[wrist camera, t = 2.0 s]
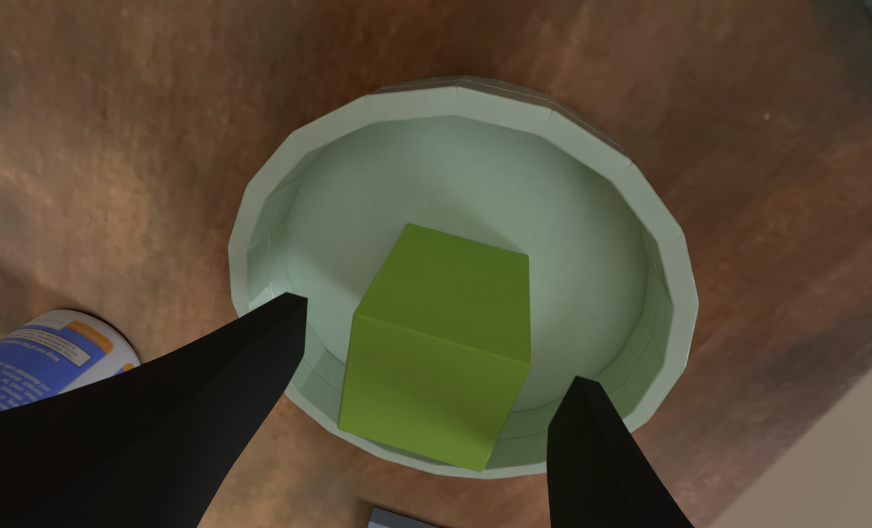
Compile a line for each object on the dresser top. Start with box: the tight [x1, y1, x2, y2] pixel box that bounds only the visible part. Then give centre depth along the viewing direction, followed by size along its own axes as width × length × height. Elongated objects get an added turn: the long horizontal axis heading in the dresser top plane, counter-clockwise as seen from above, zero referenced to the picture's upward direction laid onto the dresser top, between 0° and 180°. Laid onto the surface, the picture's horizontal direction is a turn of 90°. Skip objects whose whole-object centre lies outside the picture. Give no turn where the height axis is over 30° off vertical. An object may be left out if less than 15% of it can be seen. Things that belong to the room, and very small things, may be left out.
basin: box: [228, 75, 699, 480], centre depth 14 cm, size 13×13×3 cm
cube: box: [337, 223, 531, 473], centre depth 12 cm, size 4×4×5 cm
